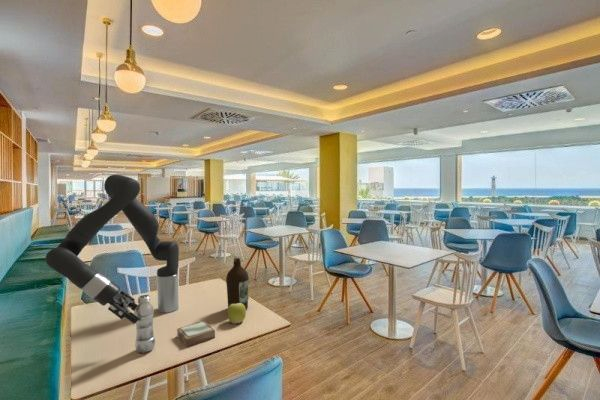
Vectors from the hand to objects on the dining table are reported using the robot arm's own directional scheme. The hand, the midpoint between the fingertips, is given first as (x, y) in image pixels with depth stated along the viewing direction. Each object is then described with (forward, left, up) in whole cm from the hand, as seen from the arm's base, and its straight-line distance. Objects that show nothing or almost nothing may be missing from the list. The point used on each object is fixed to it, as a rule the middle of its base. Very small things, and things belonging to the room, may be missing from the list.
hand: (139, 316), depth 112 cm
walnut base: (+3, +20, -13) cm, 24 cm away
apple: (+1, +39, -13) cm, 41 cm away
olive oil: (-11, +46, -13) cm, 49 cm away
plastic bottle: (+1, +2, -13) cm, 13 cm away
